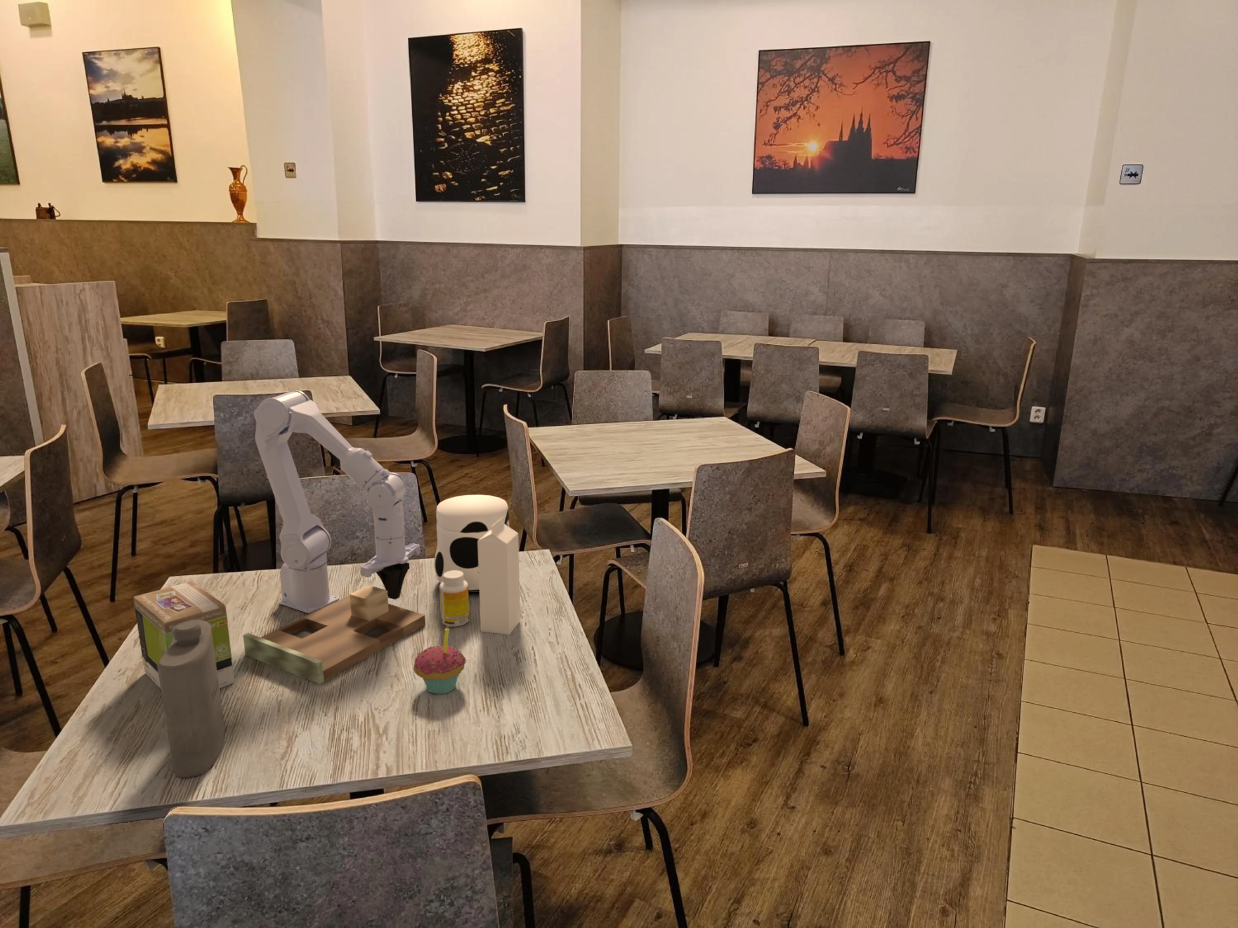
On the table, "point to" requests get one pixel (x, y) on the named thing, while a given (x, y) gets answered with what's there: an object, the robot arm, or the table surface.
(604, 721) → the table surface
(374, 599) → the block
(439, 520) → the milk container
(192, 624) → the flask
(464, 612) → the supplement bottle
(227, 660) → the tea box
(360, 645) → the wooden board with holes
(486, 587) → the milk
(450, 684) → the cupcake
